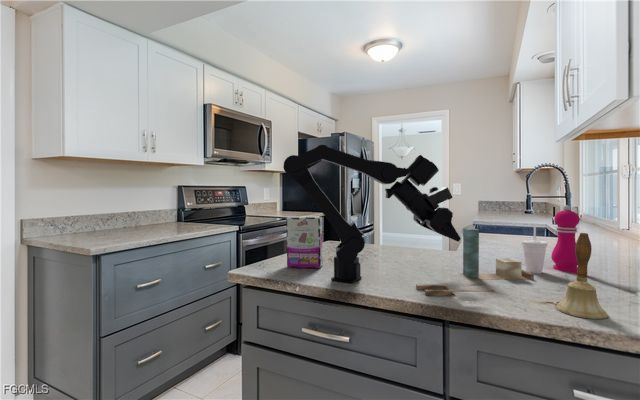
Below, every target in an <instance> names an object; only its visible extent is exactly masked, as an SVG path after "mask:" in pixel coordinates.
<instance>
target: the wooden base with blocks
mask: <svg viewBox="0 0 640 400" xmlns="http://www.w3.org/2000/svg"><path fill="white" fill-rule="evenodd" d="M462 235H463V238H462V241H463V242H462V244H463V245H462V251H463V252H462V273H458V274H459V275H460V276H462V277H463V278H465V279H466V280H468V281H471V280H472V281H474V280H475V281H476V280H478V281H480V280H481V281H483V280H484V281H489V280H490V281H493V280H496V281H502V280H503V281H534V280H535V273H530V272H527V271H526V269H525V270H524V269H522V268H521V279H504V278H502V277H500V276H498V275H496V273H479V271H480V267H479V266H480V264H479V263H480V259H479V258H480V229H477V228H471V227H470V228H463V229H462Z"/></svg>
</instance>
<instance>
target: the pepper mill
mask: <svg viewBox="0 0 640 400" xmlns="http://www.w3.org/2000/svg"><path fill="white" fill-rule="evenodd" d="M562 209H563V210H559V211H558V212H556V213H555V215H554V217H553V218H554V219H553V220H554V223H555V224H556V225H557V226H555V227H556V230H555V231H556V232H557V240H556V243H555V246H554V248H553V250H552V251H551V257H550V258H551V260H552V261H553V263H554V264H553V265H552V268H553V270H556V271H559V272H560V271H561V272H565V273H566V272H568V273H571V274H575V275H577V269H578V262H577V258H576V254H575V246H576V242H577V241H576V233H578V227H577V226H578V224H580V216H579V214H578V213H577V212H575V211H573V210H571V206H570V205H569V204H566V205H564V206H563V207H562Z"/></svg>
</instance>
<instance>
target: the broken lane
mask: <svg viewBox="0 0 640 400" xmlns="http://www.w3.org/2000/svg"><path fill="white" fill-rule="evenodd" d="M462 286H464V287H471V286H487V284H486V283H484V282H483V283H482V282H481V283H469V284H468V283H467V284H465V283H463V284H462ZM448 287H450V284H449V283H448V284H447V283H446V284H441V283H440V284H437V283H433V284H432V283H431V284H430V283H427V284H426V283H424V284H422V283H421V284H419V283H418V284H415V289H416V290H417V291H418V290H420V291H422V290H423V291H424V295H425V296H454V297H455V296H456V294H455V293H454V292H458V293H459V292H465V293H466V292H468V293H469V292H473V293H474V292H477V293H478V292H479V293H481V292H482V293H483V292H485V293H486V292H488V293H489V292H490V293H493V292H494V293H495V292H496V290H494V289H449V288H448Z"/></svg>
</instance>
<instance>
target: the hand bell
mask: <svg viewBox="0 0 640 400" xmlns="http://www.w3.org/2000/svg"><path fill="white" fill-rule="evenodd" d="M575 242H576V246H575V254H576V258H577V262H578V265H577V267H578V269H577V274H576V278H575V281H572V282H569V283H567V289H566V292H565V295H564V297H563V299H562V300H561V301H560V302H558V303H557V304H556V305H555V307H556V310H558V311H559V312H561V313H564V314H566V315H569V316H573V317H578V318H583V319H589V320H604V319H607V318H608V317H609V314H608V313H607V311H606V310H604V309H603V307H602V306H601V304H600V302H599V299H598V295H597V289H596V287H595V286H594V285H593V284H591V283H590V282H588V277H589V276H588V265H589V263H590V262H589V261H590V259H591V256H592V250H593V249H592V243H591V241H590V237H589V233H586V232H579V236H578V238H577V240H576V241H575Z"/></svg>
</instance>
